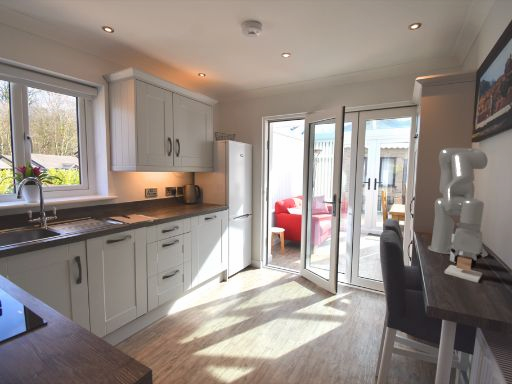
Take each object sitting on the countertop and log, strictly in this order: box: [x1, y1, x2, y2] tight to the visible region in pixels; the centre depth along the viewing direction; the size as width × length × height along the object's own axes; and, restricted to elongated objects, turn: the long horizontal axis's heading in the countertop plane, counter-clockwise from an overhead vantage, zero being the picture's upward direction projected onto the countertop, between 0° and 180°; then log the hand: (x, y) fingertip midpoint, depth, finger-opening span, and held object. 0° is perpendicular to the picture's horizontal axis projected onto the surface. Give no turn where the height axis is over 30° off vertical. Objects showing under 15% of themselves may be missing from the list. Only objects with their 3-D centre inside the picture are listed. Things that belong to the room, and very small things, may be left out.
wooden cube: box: [455, 255, 473, 271], centre depth 121 cm, size 5×5×5 cm
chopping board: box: [444, 264, 483, 284], centre depth 121 cm, size 12×12×1 cm
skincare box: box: [449, 233, 473, 264], centre depth 135 cm, size 8×6×15 cm
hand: (464, 265), depth 121 cm, fingers closed on wooden cube, 5 cm apart
